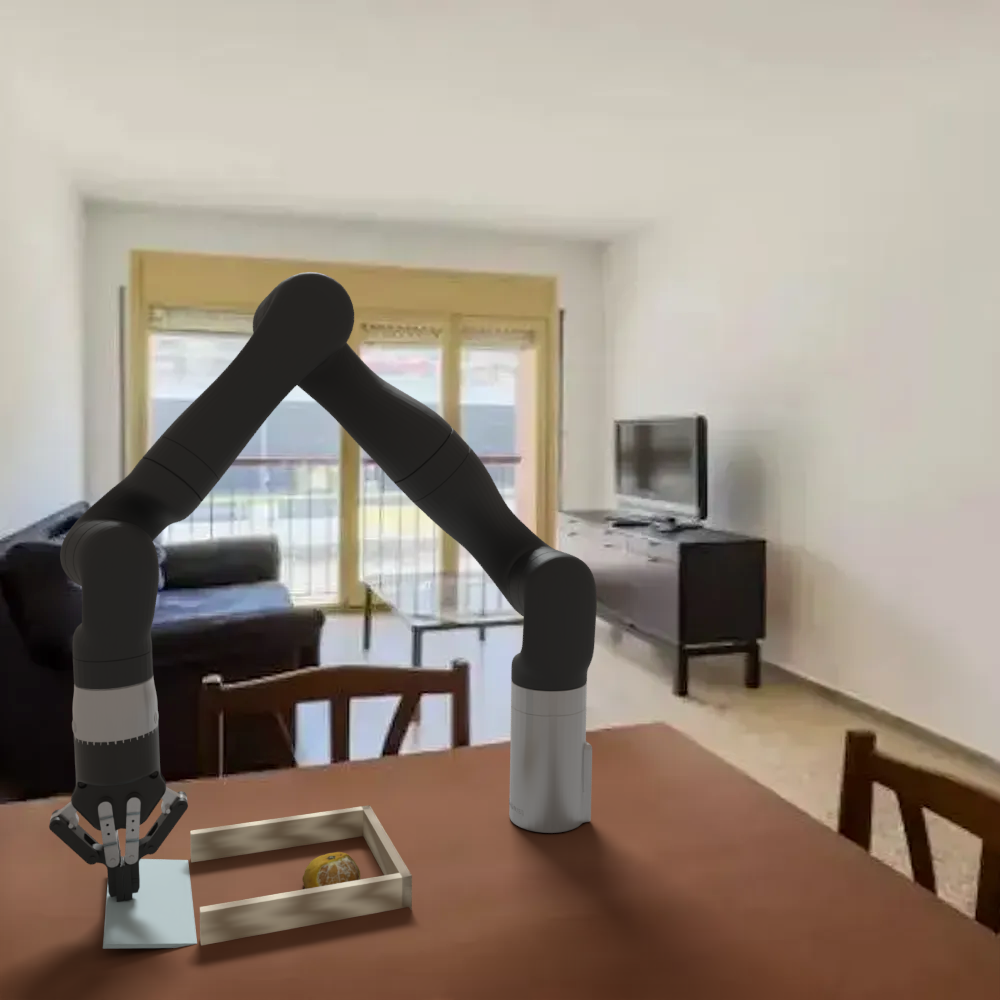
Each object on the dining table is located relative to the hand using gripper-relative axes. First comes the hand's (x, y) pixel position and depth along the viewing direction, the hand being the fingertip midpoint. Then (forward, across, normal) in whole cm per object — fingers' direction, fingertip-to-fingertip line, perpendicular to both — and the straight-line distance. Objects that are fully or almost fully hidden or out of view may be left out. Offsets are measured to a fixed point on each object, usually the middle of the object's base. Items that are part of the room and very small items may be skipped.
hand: (124, 897), depth 90 cm
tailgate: (+1, -6, 0) cm, 6 cm away
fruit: (+3, -20, +4) cm, 21 cm away
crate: (+2, -17, 0) cm, 17 cm away
